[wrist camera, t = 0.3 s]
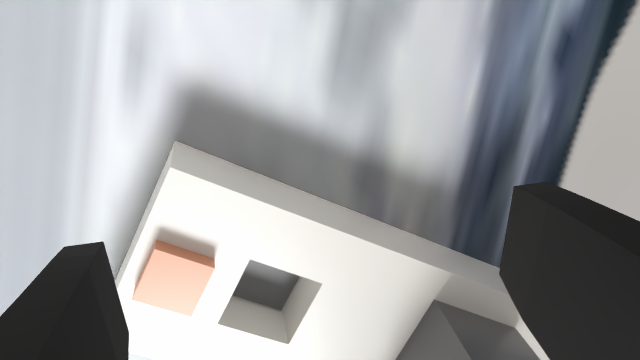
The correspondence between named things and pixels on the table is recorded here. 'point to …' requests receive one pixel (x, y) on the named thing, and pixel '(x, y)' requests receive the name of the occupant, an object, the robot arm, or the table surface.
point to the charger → (463, 337)
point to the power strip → (284, 273)
